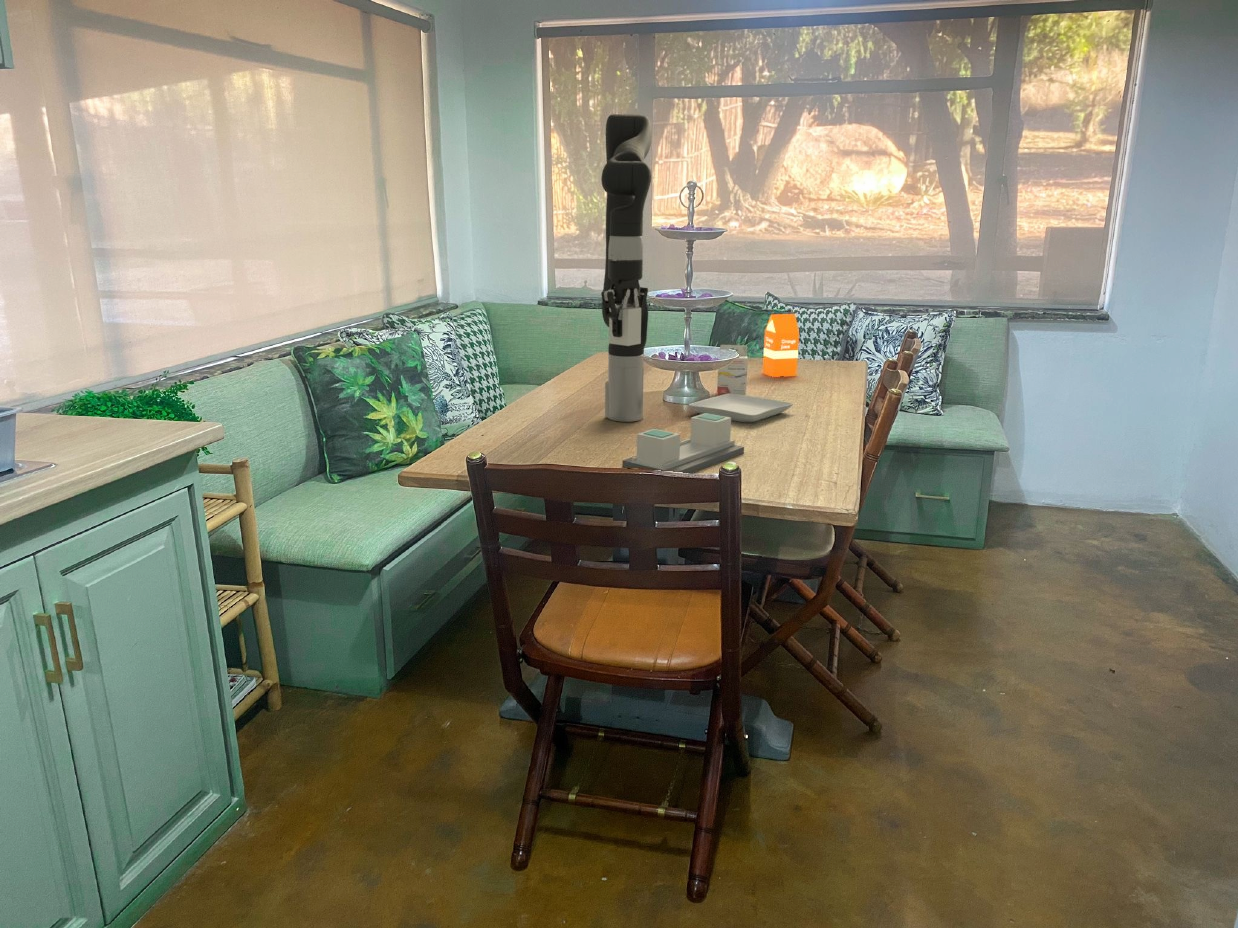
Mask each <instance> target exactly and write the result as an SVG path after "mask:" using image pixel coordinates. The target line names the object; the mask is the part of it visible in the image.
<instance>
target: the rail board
mask: <svg viewBox="0 0 1238 928" xmlns="http://www.w3.org/2000/svg"><path fill="white" fill-rule="evenodd" d="M731 427H732V420H731V418H730V417H725V416H719V415H714V414H708V413H705V414H701V413H700V414H699V415H695V416H692V417H690V437H689V438H687V439H683V440H681V433H676V432H671V431H668V430H667V431H666V430H661V429H656V428H653V429H648V430H647V431H646V430H645V431H643V432H639V433H636V455H635V456H632V457H629V458H625V459H623V460H622V462H621V463H622V466H621V467H622V468H624V469H628V468H638V469H650V470H661V471H673V472H683V473H691V474H693V473H695V472H699V471H701V470H703V469H706V468H709V467H711V466H714V465H716V464H720V463H722V462H725V461H727V460H729V459H732V458H734V457H738V456H740V455H742V454H744V453H745V446H743V445H737V444H735V442H736V440H735V439H731V432H732V431H731V430H732V429H731Z"/></svg>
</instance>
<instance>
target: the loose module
mask: <svg viewBox="0 0 1238 928" xmlns="http://www.w3.org/2000/svg"><path fill="white" fill-rule="evenodd" d="M609 310H610V312H611V309H610V308H609ZM616 311H617V314H618V311H619V309H616ZM621 320H622V336H621V337H614V336H613V333H612V319H611V318H609V327H608V344H609V343H611V344H618V345H625V346H631V345H636V344H641V308H639V307H626V309H624V310H623V316H622V319H621Z"/></svg>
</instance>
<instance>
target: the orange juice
mask: <svg viewBox="0 0 1238 928" xmlns="http://www.w3.org/2000/svg"><path fill="white" fill-rule="evenodd" d="M797 321H798V320H797V318H796V314H795V313H782V314H781V313H780V314H771V315H770V317H769V320H768V322H767V325H766V328H765V329H764V341H763V342H764V344H763V362H762V363H763V364H762V374H765V376H766V375H767V376H769V377H771V376H772V378H781V377H780V376H784V377H796V376H797V373H798V372H797V371H798V358H799V343H800V341H799V339H800V331H799V327H798V322H797Z"/></svg>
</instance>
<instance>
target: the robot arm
mask: <svg viewBox="0 0 1238 928" xmlns="http://www.w3.org/2000/svg"><path fill="white" fill-rule="evenodd" d="M652 129H653V128H652V122H651V120H650V118H649V117H648V116H646V115H644V114H634V113H633V114H631V113H630V114H625V113H624V114H621V113H620V114H619V113H617V114H615V113H614V114H610V115H608V117H607V119H606V124H605V158H606V163H605V164H604V167H603V169H602V171H601V172H602V173H601V178H600V179H601V186H602V188H603V190H604V192H605V193H606V207H605V265H604V267H605V268H604V279H603V287H602V288H603V289H602V291H601V294H600V295H601V313H602V315H601V316H602V318H603V319H602V320H603V322H604V323H605V325H606V327H607V328H609V318H611V319H612V333H613V336H614V337H621V336H622V320H621V319H622V316H623V310H624V309H626V307H639V308H641V344H636V345H631V346H625V345H618V344H611V343H609V342H608V349H607V350H608V354H607V355H608V358H607V359H608V360H607V361H608V365H607V366H608V367H607V368H608V372H607V373H608V376H607V379H608V380H607V381H605V385H604V396H605V397H604V413H605V414H604V417H605V418H607V419H609V420H610V421H614V422H622V423H623V422H624V423H628V422H629V423H631V422H638V421H641V420H643V418H644V417H643V416H644V360H645V358H644V355H645V354H644V353H645V347H646V344H647V339H648V338H647V337H648V324H649V304H648V301H647V298H648V293H649V289H648V288H649V287H642V286H640V282H639V281H640V280H642V279H643V271H644V270H643V269H644V268H643V266H644V264H643V263H644V262H643V261H644V258H643V257H644V255H643V253H644V246H643V245H644V244H643V243H644V242H643V233H644V231H643V229H644V227H643V224H644V210H645V209H644V208H645V204H646V199H647V196H648V193H649V191H650V190H649V189H650V187H651V182H652V171H651V168H650V166H649V165H648V164H647V163H646V162H645V159H646V157H647V156H648V154H649V152H650V150H651V146H652V135H653V134H652V131H653V130H652ZM609 308H610V309H611V312H610V310H609ZM616 309H619V311H618V314H617V311H616Z"/></svg>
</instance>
